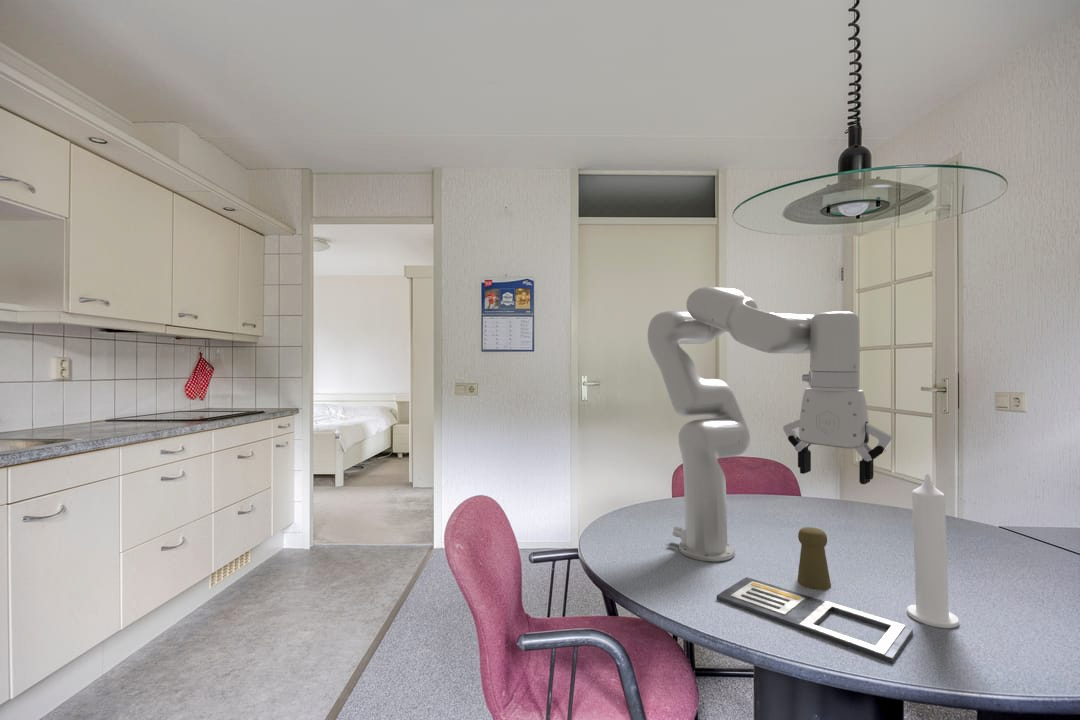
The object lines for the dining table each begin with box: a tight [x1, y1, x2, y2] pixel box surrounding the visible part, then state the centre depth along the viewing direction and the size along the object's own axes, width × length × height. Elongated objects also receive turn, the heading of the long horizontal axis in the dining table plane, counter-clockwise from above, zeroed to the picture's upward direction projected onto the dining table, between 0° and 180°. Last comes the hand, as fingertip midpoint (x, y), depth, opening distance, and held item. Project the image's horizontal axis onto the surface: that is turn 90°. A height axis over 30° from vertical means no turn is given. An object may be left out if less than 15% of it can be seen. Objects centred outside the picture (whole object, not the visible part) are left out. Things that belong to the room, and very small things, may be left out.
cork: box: [796, 526, 832, 591], centre depth 100 cm, size 6×6×11 cm
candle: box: [906, 473, 960, 629], centre depth 86 cm, size 7×7×25 cm
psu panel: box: [716, 576, 914, 664], centre depth 87 cm, size 28×12×1 cm, turn 41°
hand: (833, 477), depth 88 cm, fingers open, 9 cm apart
